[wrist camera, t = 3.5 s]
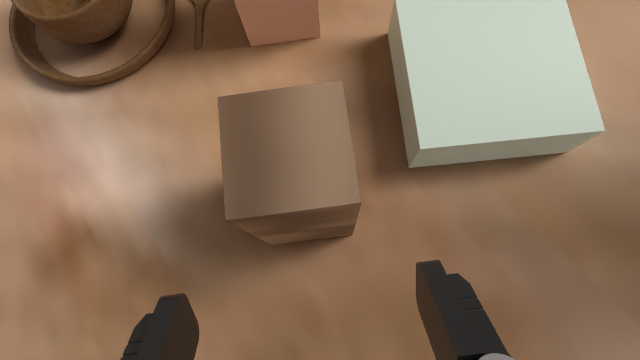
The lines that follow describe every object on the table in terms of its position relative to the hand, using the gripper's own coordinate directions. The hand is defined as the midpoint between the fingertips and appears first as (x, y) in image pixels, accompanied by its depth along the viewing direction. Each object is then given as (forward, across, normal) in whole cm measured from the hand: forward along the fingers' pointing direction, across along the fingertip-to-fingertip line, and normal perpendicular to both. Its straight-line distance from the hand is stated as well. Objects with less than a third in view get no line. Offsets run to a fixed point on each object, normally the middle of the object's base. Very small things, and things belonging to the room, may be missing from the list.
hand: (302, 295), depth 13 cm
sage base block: (+15, -12, -1) cm, 19 cm away
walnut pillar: (+11, 0, +3) cm, 11 cm away
